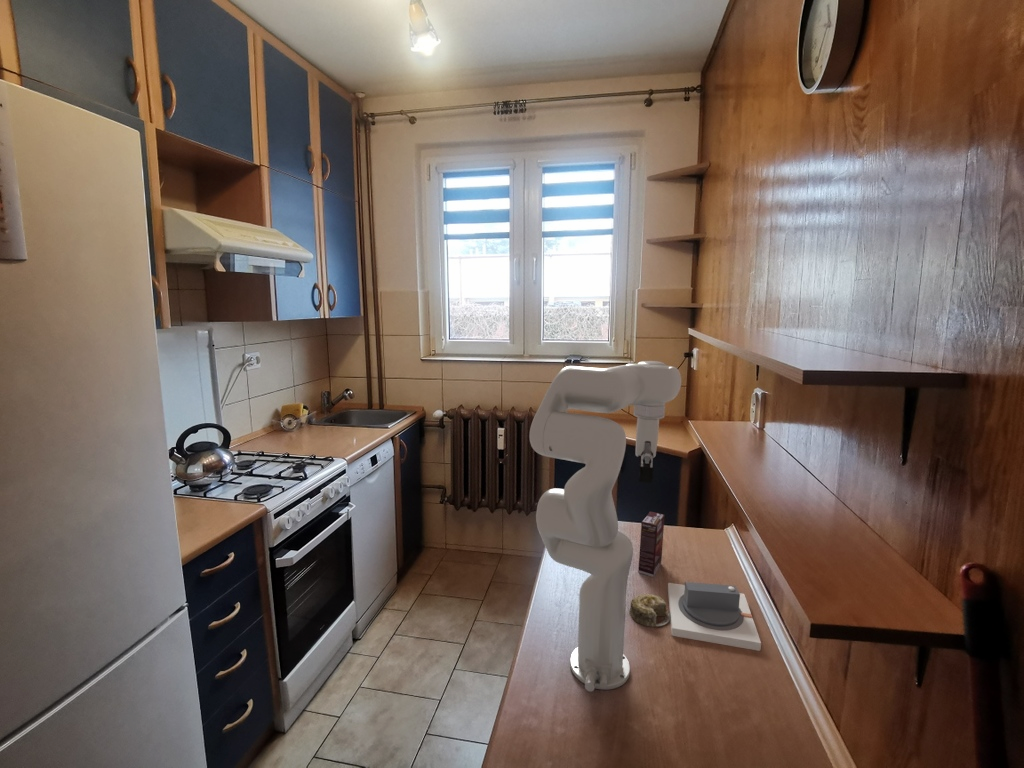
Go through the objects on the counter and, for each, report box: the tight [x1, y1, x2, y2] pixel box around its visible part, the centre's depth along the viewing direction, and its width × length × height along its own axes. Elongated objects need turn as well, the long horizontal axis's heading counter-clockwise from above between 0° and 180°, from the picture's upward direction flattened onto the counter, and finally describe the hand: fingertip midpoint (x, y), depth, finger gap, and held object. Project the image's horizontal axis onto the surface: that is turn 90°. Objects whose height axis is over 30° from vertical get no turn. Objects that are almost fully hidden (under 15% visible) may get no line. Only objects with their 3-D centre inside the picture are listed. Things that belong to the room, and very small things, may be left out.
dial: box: [683, 581, 740, 626], centre depth 118 cm, size 13×13×6 cm
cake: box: [629, 593, 670, 628], centre depth 120 cm, size 10×10×5 cm
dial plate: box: [667, 582, 762, 652], centre depth 119 cm, size 19×19×2 cm
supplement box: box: [637, 511, 665, 578], centre depth 140 cm, size 9×5×16 cm, turn 148°
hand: (645, 474), depth 124 cm, fingers open, 9 cm apart
